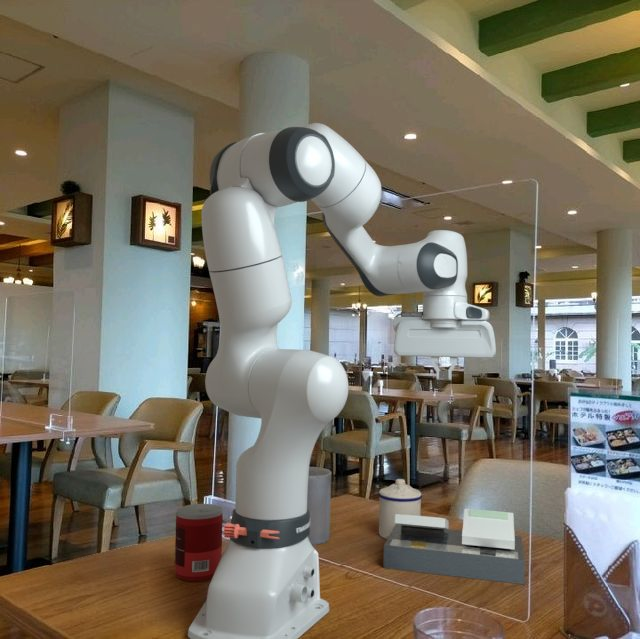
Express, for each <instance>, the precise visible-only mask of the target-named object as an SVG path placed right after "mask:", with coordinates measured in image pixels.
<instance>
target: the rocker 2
mask: <svg viewBox="0 0 640 639" xmlns="http://www.w3.org/2000/svg"><path fill="white" fill-rule="evenodd" d="M463 511H464V512H463V522H462V544H466V545H476V546H485V547H495V548H505V549H514V550H515V536H516V534H515V523H514V522H515V517H514V512H508V511H500V510H499V511H497V510H486V509H475V508H474V509H473V508H464V510H463Z"/></svg>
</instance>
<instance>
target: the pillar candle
mask: <svg viewBox="0 0 640 639" xmlns="http://www.w3.org/2000/svg"><path fill="white" fill-rule="evenodd" d="M331 486H332V471H331V470H330V469H328V468H324V467H319V466H310V465H309V475H308V495H307V509H308V510H309V512H310V534H309V536H308V538H309V541H310V543H311V545H312V546H316V545H323V544H325V543H327V542H328V541H329V539H330V535H331V534H330V530H331V497H332V495H331V492H332V490H331V489H332V487H331Z"/></svg>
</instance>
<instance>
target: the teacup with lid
mask: <svg viewBox="0 0 640 639" xmlns="http://www.w3.org/2000/svg"><path fill="white" fill-rule="evenodd" d="M377 494H378V496H379V500H378V501H379V503H378V504H379V506H378V507H379V508H378V512H379V515H378V534H379V536H380V537H382V539H385V540H387V539H388V537H389V535H390V534H391V532H392V530H393V528H394V526H395V525H396V524H397V523H395V515H396V514H401V515H416V516H422V515H421V514H422V512H421V510H422V509H421V508H422V507H421V506H422V504H421V503H422V497H423V495H422V492H421V491H420V490H419V489H417V488H413V487H412V486H411V485H409V484H406V481H405V479H404V478H397V479H396V480H395V483H392V484H390V485H389V486H386V487H382V488H381V489H379V491H378V493H377Z"/></svg>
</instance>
